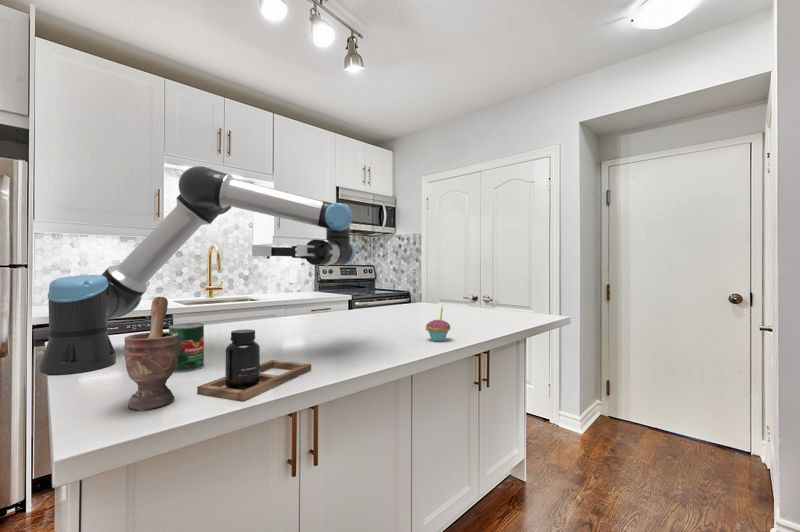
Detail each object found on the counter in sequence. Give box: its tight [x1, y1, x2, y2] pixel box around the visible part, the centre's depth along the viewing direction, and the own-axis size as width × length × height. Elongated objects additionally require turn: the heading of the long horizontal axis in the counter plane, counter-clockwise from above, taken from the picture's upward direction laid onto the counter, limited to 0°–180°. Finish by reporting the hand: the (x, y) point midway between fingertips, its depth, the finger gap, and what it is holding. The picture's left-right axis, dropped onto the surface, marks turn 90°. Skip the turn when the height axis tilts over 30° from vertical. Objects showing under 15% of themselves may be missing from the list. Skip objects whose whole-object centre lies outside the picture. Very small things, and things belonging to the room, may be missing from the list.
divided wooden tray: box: [196, 359, 312, 402], centre depth 87 cm, size 12×23×2 cm, turn 159°
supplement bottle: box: [224, 328, 261, 390], centre depth 82 cm, size 7×7×12 cm
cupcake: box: [425, 305, 451, 342], centre depth 133 cm, size 9×8×12 cm
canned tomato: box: [168, 322, 205, 373], centre depth 98 cm, size 8×8×11 cm
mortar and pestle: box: [124, 296, 179, 412], centre depth 74 cm, size 12×9×20 cm
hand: (274, 250), depth 95 cm, fingers open, 13 cm apart
